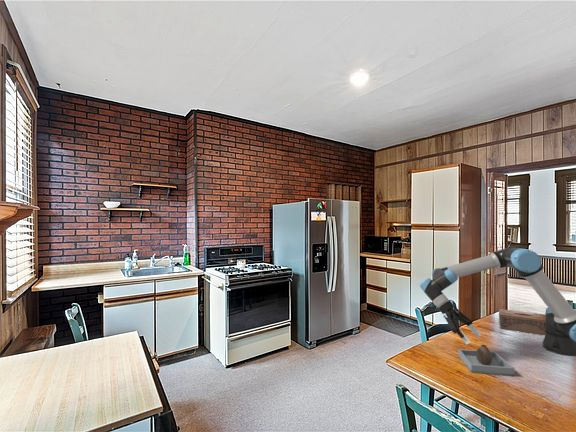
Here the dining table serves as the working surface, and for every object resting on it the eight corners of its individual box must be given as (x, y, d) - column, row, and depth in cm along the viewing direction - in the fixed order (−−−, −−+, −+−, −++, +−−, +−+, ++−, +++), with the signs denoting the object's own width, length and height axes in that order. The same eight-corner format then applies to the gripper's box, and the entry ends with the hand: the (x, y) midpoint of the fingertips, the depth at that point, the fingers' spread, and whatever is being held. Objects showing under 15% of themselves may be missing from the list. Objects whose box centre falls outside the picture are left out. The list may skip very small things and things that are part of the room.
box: (495, 358, 155) (495, 351, 155) (514, 376, 138) (513, 368, 138) (458, 355, 159) (457, 349, 159) (471, 372, 141) (471, 365, 141)
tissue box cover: (546, 329, 195) (546, 314, 195) (551, 337, 183) (550, 321, 183) (499, 322, 209) (498, 308, 209) (500, 329, 197) (500, 314, 197)
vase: (489, 360, 151) (489, 343, 151) (494, 367, 144) (494, 349, 144) (474, 359, 153) (473, 342, 153) (478, 365, 146) (478, 347, 146)
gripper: (448, 303, 173) (478, 337, 161) (427, 312, 158) (458, 350, 146) (458, 296, 169) (488, 330, 157) (437, 304, 154) (470, 342, 142)
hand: (474, 339), depth 151 cm, fingers open, 13 cm apart
